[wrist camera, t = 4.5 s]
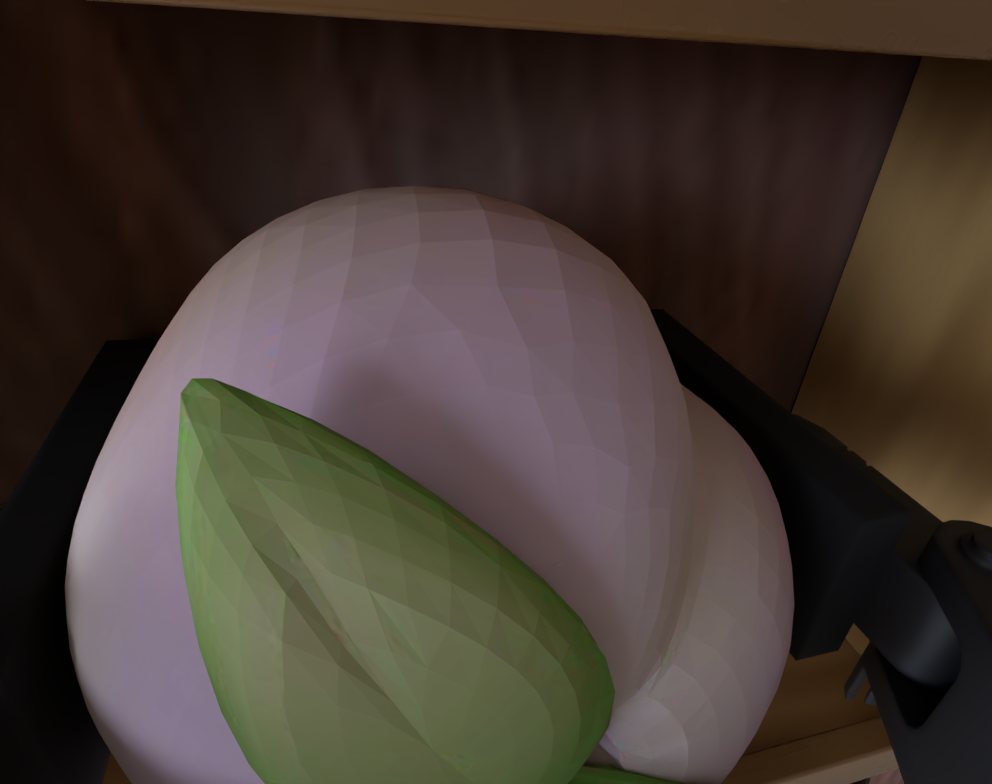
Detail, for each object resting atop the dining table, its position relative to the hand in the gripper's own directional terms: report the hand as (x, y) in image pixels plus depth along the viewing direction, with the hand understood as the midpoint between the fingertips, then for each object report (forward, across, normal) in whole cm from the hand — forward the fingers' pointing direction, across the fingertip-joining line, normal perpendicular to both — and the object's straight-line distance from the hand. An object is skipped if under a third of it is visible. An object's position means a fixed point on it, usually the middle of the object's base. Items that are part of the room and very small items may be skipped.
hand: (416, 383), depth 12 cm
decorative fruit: (+1, 0, 0) cm, 1 cm away
